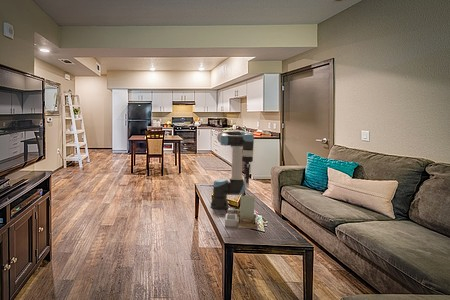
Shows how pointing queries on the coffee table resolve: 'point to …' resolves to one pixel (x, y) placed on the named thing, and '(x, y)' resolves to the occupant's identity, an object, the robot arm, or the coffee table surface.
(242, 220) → the offcut walnut
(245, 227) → the rack
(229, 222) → the bin
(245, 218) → the offcut oak
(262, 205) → the coffee table surface
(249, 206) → the grey-green flat block
